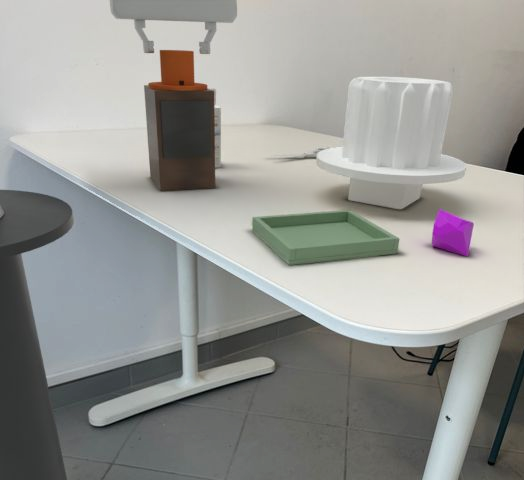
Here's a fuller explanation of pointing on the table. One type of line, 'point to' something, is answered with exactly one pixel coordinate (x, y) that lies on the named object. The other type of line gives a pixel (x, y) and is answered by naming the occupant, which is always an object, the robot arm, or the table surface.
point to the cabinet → (181, 138)
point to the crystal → (452, 233)
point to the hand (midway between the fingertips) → (177, 53)
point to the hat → (177, 72)
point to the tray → (323, 236)
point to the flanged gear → (393, 140)
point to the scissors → (310, 154)
